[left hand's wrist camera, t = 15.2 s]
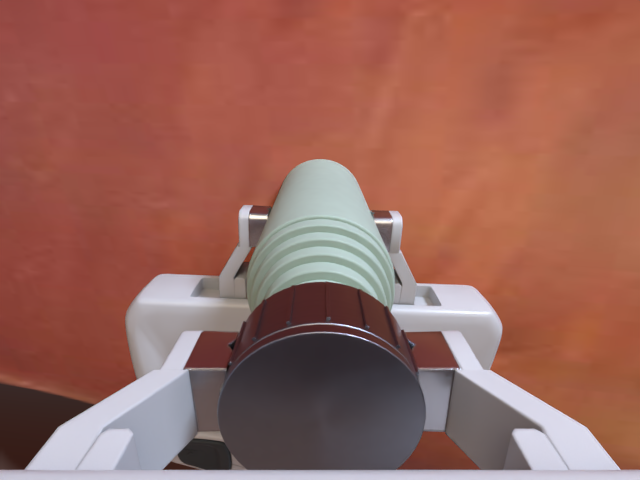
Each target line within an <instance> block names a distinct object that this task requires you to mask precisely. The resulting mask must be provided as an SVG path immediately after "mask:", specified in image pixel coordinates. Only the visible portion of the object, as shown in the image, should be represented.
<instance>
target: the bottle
mask: <svg viewBox="0 0 640 480" xmlns="http://www.w3.org/2000/svg"><path fill="white" fill-rule="evenodd" d="M326 281H327V282H333V283H340V284H344V285H348V286H352V287H354V288H357V289H362V291H364V292H366V293H368V294H369V295H371V296H373V297H374V298H376V299H377V300H378V301H380V302H381V303H382V304H383V305H384V306H387V307H388V308H389V311H390V312H391V309H392V306H393V302H394V296H395V274H394V269H393V264H392V261H391V259H390V256H389V254H388V251H387V249H386V247H385V244H384V242H383V240H382V238H381V235H380V233H379V231H378V228H377V226H376V224H375V221H374V219H373V217H372V215H371V212H370V210H369V208H368V205H367V203H366V201H365V199H364V196H363V194H362V192H361V189H360V187H359V185H358V183H357V181H356V179H355V177H354V176H353V175H352V173H351V172H350V171H349V170H348V169H346V168H345V167H344V166H342V165H341V164H339V163H336V162H334V161H330V160H325V159H316V160H310V161H307V162H304V163H302V164H300V165H298V166H297V167H295V168H294V169H293V170H292V171H291V172H290V173H289V174H288V175H287V176H286V178H285V180H284V181H283V184H282V186H281V188H280V191H279V193H278V195H277V198H276V200H275V203H274V205H273V207H272V210H271V212H270V215H269V217H268V219H267V222H266V224H265V226H264V229H263V231H262V234H261V236H260V238H259V241H258V243H257V245H256V248H255V250H254V253H253V255H252V257H251V260H250V262H249V266H248V270H247V299H248V305H249V308H250V311H251V313H252V312H253V311H254V310H255V308H256V307H257V306H258V305H260V304H261V303H262V300H264V299H265V300H266V299H267V298H269V297H270V296H272V295H273V294H275V293H277V292H279V291H281V290H283V289H286V288H289V287H291V286H292V285H299V284H303V283H310V282H326Z"/></svg>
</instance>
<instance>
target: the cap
mask: <svg viewBox="0 0 640 480" xmlns="http://www.w3.org/2000/svg"><path fill="white" fill-rule="evenodd" d="M228 365H229V368H228V371H227V374H226V377H225V380H224V383H223V386H222V388H220V391H219V394H220V396H219V400H218V408H217V416H218V425H219V429H220V433H221V435H222V438H223V440H224V442H225V444H226V446H227V448H228V449H229V451H230V452H231V454H232V455H233V456H234V457H235V459H236V460H237V461H238V462H239V463H240V464H241V465H242V466H243V467H245V468H246V469H247V470H396V469H397V468H398V467H400V466H401V465H402V464H403V463H404V462H405V461H406V460H407V459H408V458H409V456H410V455H411V454H412V452H413V451H414V449H415V448H416V446H417V444H418V442H419V440H420V438H421V436H422V433H423V430H424V425H425V419H426V405H425V399H424V394H423V392H422V389H421V386H420V383H419V380H418V377H417V375H419V371H418V368H417V366H416V363H415V360H414V357H413V354H412V352H411V349H410V346H409V343H408V340H407V338H406V335H405V332H404V329H403V330H401V328H400V326H399V324H398V322H397V321H396V319H395V317H394V316H393V315H392V313H391V312H390V311H389V308H388V307H387V306H384V305H383V304H382V303H381V302H380V301H378V300H377V299H376V298H374V297H373V296H371V295H369V294H368V293H366V292H364V291H362V289H357V288H354V287H352V286H348V285H344V284H340V283H333V282H327V281H326V282H310V283H303V284H299V285H292V286H291V287H289V288H286V289H283V290H281V291H279V292H277V293H275V294H273V295H272V296H270V297H269V298H267V299H266V300H265V299H264V300H262V303H261V304H260V305H258V306H257V307H256V308H255V310H254V311H253V312H252V313H251V314H250V315H249V317H248V319H247V320H246V322H245V321H243V323H242V325H241V328H240V331H239V334H238V337H237V340H236V343H235V346H234V349H233V352H232V355H231V358H230V361H229V364H228Z"/></svg>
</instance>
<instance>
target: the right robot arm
mask: <svg viewBox="0 0 640 480" xmlns="http://www.w3.org/2000/svg"><path fill="white" fill-rule="evenodd" d="M271 210H272V209H271V207H270V206H253V205H243V207H242V208H241V210H240V212H239V219H238V223H239V243H238V244H237V246H236V248H235V249H234V251H233V253H232V255H231V256H230V258H229V260H228V261H227V263H226V265H225V267H224V268H223V270H222V272H221V274H220V276H207V275H180V274H160V275H158V276H156V277H155V278H154V279H153V280H152V281H151V282H149V283H148V284H147V285H146V286H145V287H144V288H143V289H142V290H141V291H140V292H139V294H138V295H137V296H136V297H135V299H134V300H133V301H132V303H131V304H130V306H129V308H128V310H127V313H126V317H125V325H126V333H127V339H128V345H129V350H130V354H131V359H132V363H133V367H134V371H135V374H136V378H137V380H138V379H139V378H141V377H143V376H144V375H146V374H148V373H149V372H151V371H153V370H160V368H161V367H162V365H163V363H164V362H165V360H166V358H167V357H168V355H169V353H170V352H171V350H172V348H173V346H174V345H175V343H176V341H177V340H178V338H179V336H180V335H181V333H182V332H184V331H240V328H241V325H242V323H243V321H245V322H246V320H247V319H248V317H249V315H250V314H251V311H250V308H249V305H248V299H247V270H248V266H249V262H243V261H244V260H245V258H246V256H247V255H248V253H249V251H250V250H251V248H252V247H256V245H257V243H258V241H259V238H260V236H261V234H262V231H263V229H264V226H265V224H266V222H267V219H268V217H269V215H270V212H271ZM370 212H371V215H372V217H373V219H374V221H375V224H376V226H377V228H378V231H379V233H380V235H381V238H382V240H383V242H384V244H385V247H386V249H387V251H388V254H389V256H390V259H391V261H392V264H393V266H394V268H395V269H394V274H395V296H394V302H393V306H392V309H391V313H392V315H393V316H394V317H395V319H396V321H397V322H398V324H399V326H400V328H401V330H403V329H404V332H429V331H454V330H458V331H460V332H461V333H462V335H463V337H464V338H465V340H466V342H467V343H468V345H469V346H470V348H471V350H472V351H473V353H474V355H475V356H476V358H477V360H478V361H479V363H480V364H481V366H482V368H483V369H484V370H490V368H491V365H492V363H493V360H494V357H495V355H496V352H497V349H498V346H499V343H500V339H501V335H502V324H501V321H500V319H499V317H498V315H497V314H496V312H495V311H494V309H493V308H492V306H491V305H490V304H489V302H488V301H487V300H486V299H485V298H484V297H483V296H482V295H481V294H480V293H479V292H478V291H477V290H476V289H475V288H474V287H472V286H468V285H448V284H421V283H416V282H415V279H414V277H413V275H412V273H411V271H410V269H409V267H408V265H407V263H406V261H405V258H404V256H403V254H402V252H401V250H400V243H401V235H402V226H403V224H402V217H401V215H400V214H399V212H398V211H376V210H371V211H370ZM171 462H175V463H178V464H182V465H186V466H189V467H193V468H197V469H200V470H247V469H246V468H245V467H243V466H242V465H241V464H240V463H239V462H238V461H237V460H236V459H235V457H234V456H233V455H232V454H231V452H230V451H229V449H228V448H227V446H226V444H225V442H224V440H223V438H222V435H221V433H220V431H207V432H198V434H197V435H196V436H195V437H194V438H193V439H192V440H191V441H190V442H189V443H188V444H187V445H186V446H185V447H184V448H183V449H182V450H181V451H180V452H179V453H178V454H177V455H176V456H175V457H174V458H173V460H172V461H171Z"/></svg>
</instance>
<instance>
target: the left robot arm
mask: <svg viewBox="0 0 640 480" xmlns="http://www.w3.org/2000/svg"><path fill="white" fill-rule="evenodd" d="M238 334H239V331H184V332H182V333H181V335H180V336H179V338H178V340H177V341H176V343H175V345H174V346H173V348H172V350H171V352H170V353H169V355H168V357H167V358H166V360H165V362H164V363H163V365H162V367H161V368H160V370H153V371H151V372H149V373H148V374H146V375H144V376H143V377H141V378H139V379H138V380H136V381H134V382H133V383H131V384H129V385H128V386H126V387H124V388H123V389H121V390H119V391H118V392H116V393H114V394H113V395H111V396H109V397H108V398H106V399H104V400H102V401H101V402H99V403H97V404H96V405H94V406H92V407H91V408H89V409H87V410H86V411H84V412H82V413H81V414H79V415H77V416H76V417H74V418H72V419H71V420H69V421H67V422H66V423H64V424H62V425H61V426H59V427H58V428H57V429H56V431H55V432H54V433H53V434H52V436H51V437H50V438H49V439H48V441H47V442H46V443H45V444H44V446H43V447H42V448H41V449H40V451H39V452H38V453H37V455H36V456H35V457H34V458H33V459H32V461H31V462H30V463H29V465H28V466H27V467H26V468H25V470H0V480H640V470H620V468H619V467H618V466H617V465H616V463H615V462H614V461H613V460H612V458H611V457H610V456H609V455H608V453H607V452H606V451H605V450H604V448H603V447H602V446H601V445H600V443H599V442H598V441H597V440H596V438H595V437H594V436H593V435H592V433H591V432H590V431H589V430H588V428H587V427H585V426H583V425H582V424H580V423H578V422H577V421H575V420H573V419H572V418H570V417H568V416H567V415H565V414H563V413H561V412H560V411H558V410H556V409H555V408H553V407H551V406H550V405H548V404H546V403H545V402H543V401H541V400H540V399H538V398H536V397H535V396H533V395H531V394H530V393H528V392H526V391H524V390H523V389H521V388H519V387H518V386H516V385H514V384H513V383H511V382H509V381H508V380H506V379H504V378H503V377H501V376H499V375H498V374H496V373H494V372H492V371H491V370H484V369H483V368H482V366H481V364H480V363H479V361H478V360H477V358H476V356H475V355H474V353H473V351H472V350H471V348H470V346H469V345H468V343H467V342H466V340H465V338H464V337H463V335H462V333H461V332H460V331H458V330H454V331H429V332H405V335H406V338H407V340H408V343H409V346H410V349H411V352H412V354H413V357H414V360H415V363H416V366H417V368H418V371H419V375H417V377H418V380H419V383H420V386H421V389H422V392H423V394H424V399H425V405H426V419H425V425H424V430H423V431H436V432H446V434H447V436H448V437H449V438H450V439H451V440H452V441H453V442H454V443H455V444H456V445H457V446H458V447H459V448H460V449H461V450H462V451H463V452H464V453H465V454H466V455H467V456H468V457H469V458H470V459H471V460H472V461H473V462H474V463H475V464H476V465H477V466H478V467H479V468H480V469H481V470H163V469H164V468H165V467H166V466H167V465H168V464H169V463H170V462H171V461H172V460H173V458H174V457H175V456H176V455H177V454H178V453H179V452H180V451H181V450H182V449H183V448H184V447H185V446H186V445H187V444H188V443H189V442H190V441H191V440H192V439H193V438H194V437H195V436H196V435H197V434H198V432H207V431H220V429H219V425H218V416H217V408H218V400H219V396H220V394H219V391H220V388H222V386H223V383H224V380H225V377H226V374H227V371H228V368H229V365H228V364H229V361H230V358H231V355H232V352H233V349H234V346H235V343H236V340H237V337H238Z"/></svg>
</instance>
